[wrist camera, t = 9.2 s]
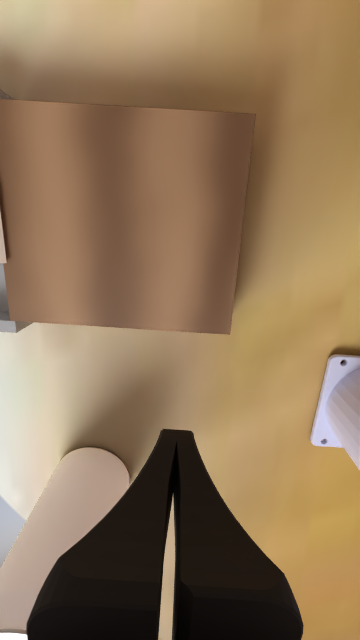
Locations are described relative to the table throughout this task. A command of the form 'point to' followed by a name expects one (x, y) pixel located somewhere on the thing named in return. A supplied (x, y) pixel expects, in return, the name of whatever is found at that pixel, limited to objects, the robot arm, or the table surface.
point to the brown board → (122, 214)
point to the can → (57, 529)
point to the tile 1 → (2, 244)
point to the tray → (3, 323)
